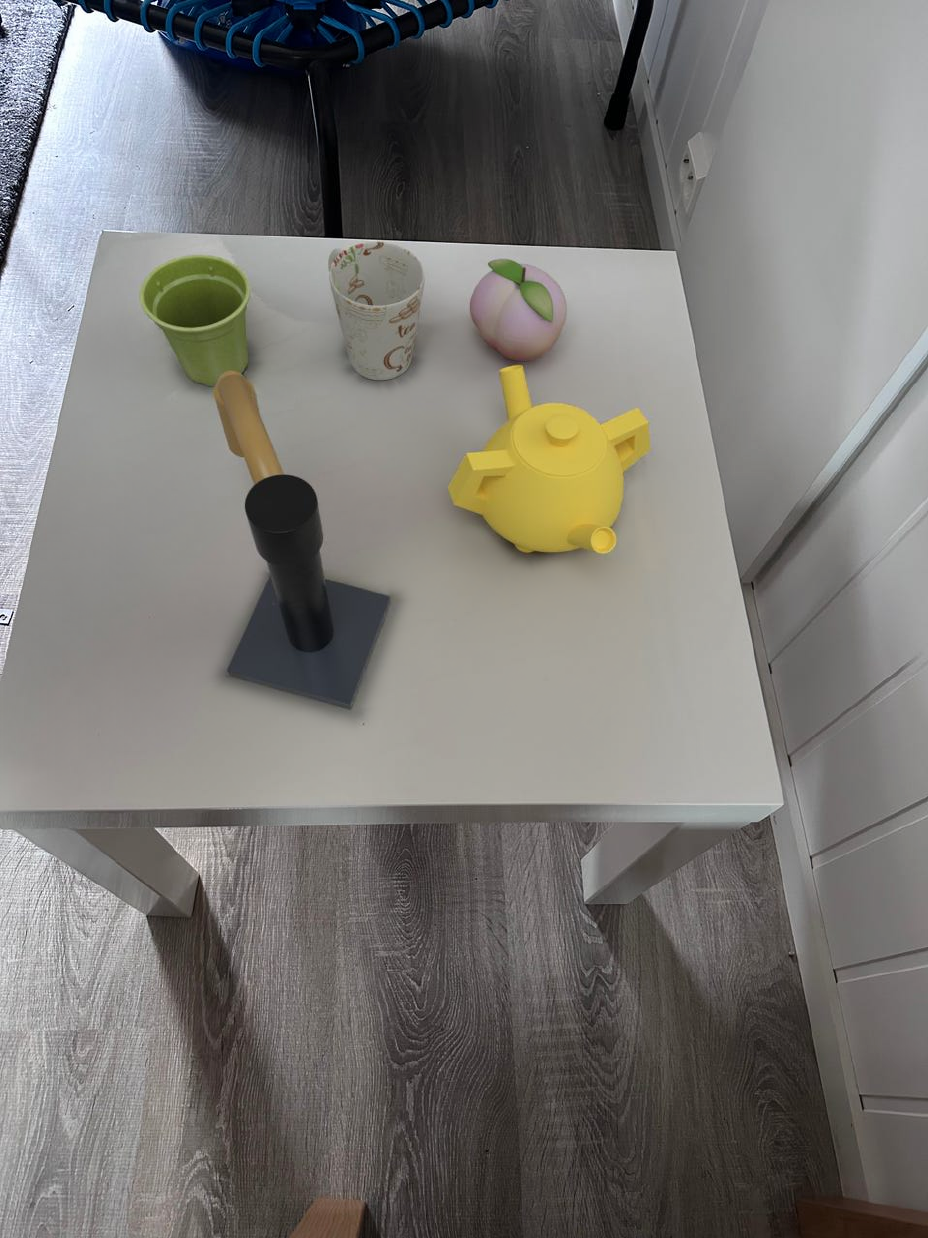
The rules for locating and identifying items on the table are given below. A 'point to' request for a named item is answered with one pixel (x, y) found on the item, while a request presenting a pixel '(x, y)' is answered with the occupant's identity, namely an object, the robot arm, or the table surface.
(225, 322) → the plant pot
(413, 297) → the mug
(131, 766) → the table surface
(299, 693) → the square base plate
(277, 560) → the spout
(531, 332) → the decorative fruit
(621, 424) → the teapot
